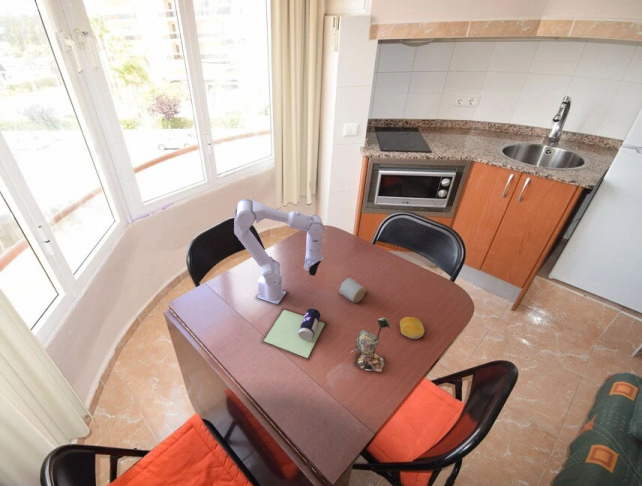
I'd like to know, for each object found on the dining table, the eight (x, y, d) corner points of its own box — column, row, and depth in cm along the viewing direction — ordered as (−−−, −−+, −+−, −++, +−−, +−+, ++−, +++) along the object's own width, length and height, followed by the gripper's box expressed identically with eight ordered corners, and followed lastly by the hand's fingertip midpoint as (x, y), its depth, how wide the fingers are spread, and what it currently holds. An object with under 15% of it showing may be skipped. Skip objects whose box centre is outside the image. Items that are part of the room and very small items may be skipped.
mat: (263, 341, 115) (263, 340, 115) (284, 310, 128) (283, 309, 127) (307, 358, 109) (307, 358, 109) (324, 323, 121) (324, 323, 121)
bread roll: (401, 338, 115) (403, 331, 112) (398, 320, 122) (400, 312, 119) (425, 341, 113) (428, 334, 111) (421, 322, 120) (423, 315, 118)
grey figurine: (356, 345, 113) (363, 304, 101) (388, 360, 107) (399, 319, 96) (346, 361, 107) (352, 320, 96) (379, 379, 102) (390, 337, 90)
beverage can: (314, 304, 120) (305, 328, 111) (324, 314, 121) (316, 338, 112) (303, 310, 123) (294, 333, 114) (313, 319, 124) (305, 343, 115)
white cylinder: (353, 307, 128) (356, 292, 123) (338, 296, 133) (339, 282, 129) (370, 295, 133) (372, 280, 129) (354, 285, 139) (356, 271, 134)
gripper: (316, 259, 114) (315, 288, 122) (330, 239, 125) (328, 266, 133) (298, 254, 117) (298, 283, 125) (313, 235, 128) (312, 262, 135)
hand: (312, 274), depth 129 cm, fingers closed
